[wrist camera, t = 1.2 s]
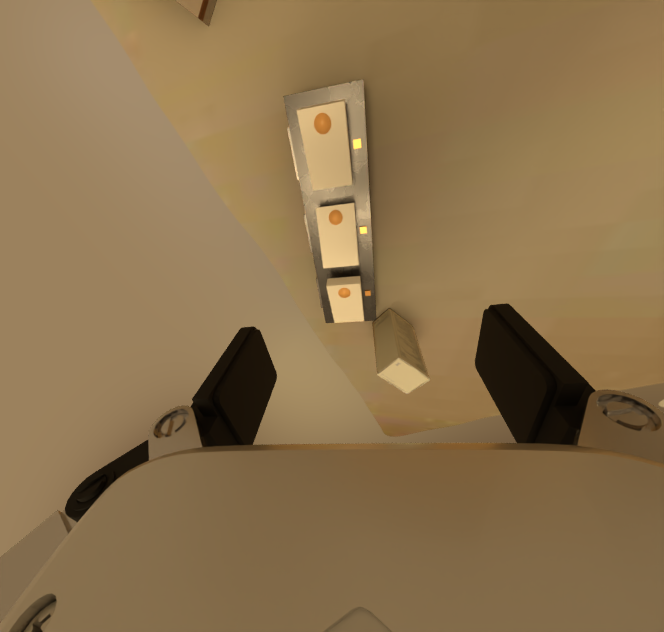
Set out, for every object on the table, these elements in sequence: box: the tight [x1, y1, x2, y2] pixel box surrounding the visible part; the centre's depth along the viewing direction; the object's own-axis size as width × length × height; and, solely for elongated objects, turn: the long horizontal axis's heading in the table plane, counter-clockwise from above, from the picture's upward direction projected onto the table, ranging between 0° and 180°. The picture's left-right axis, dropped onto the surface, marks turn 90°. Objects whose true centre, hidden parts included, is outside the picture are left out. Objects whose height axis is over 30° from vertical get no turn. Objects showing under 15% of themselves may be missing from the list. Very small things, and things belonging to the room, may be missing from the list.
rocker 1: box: [297, 99, 353, 190], centre depth 26 cm, size 7×4×2 cm, turn 8°
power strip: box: [283, 79, 376, 323], centre depth 34 cm, size 28×8×4 cm, turn 8°
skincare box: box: [373, 309, 430, 394], centre depth 39 cm, size 6×4×12 cm
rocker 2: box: [326, 276, 364, 323], centre depth 35 cm, size 7×4×2 cm, turn 8°
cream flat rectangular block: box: [316, 203, 359, 268], centre depth 30 cm, size 7×4×2 cm, turn 8°
